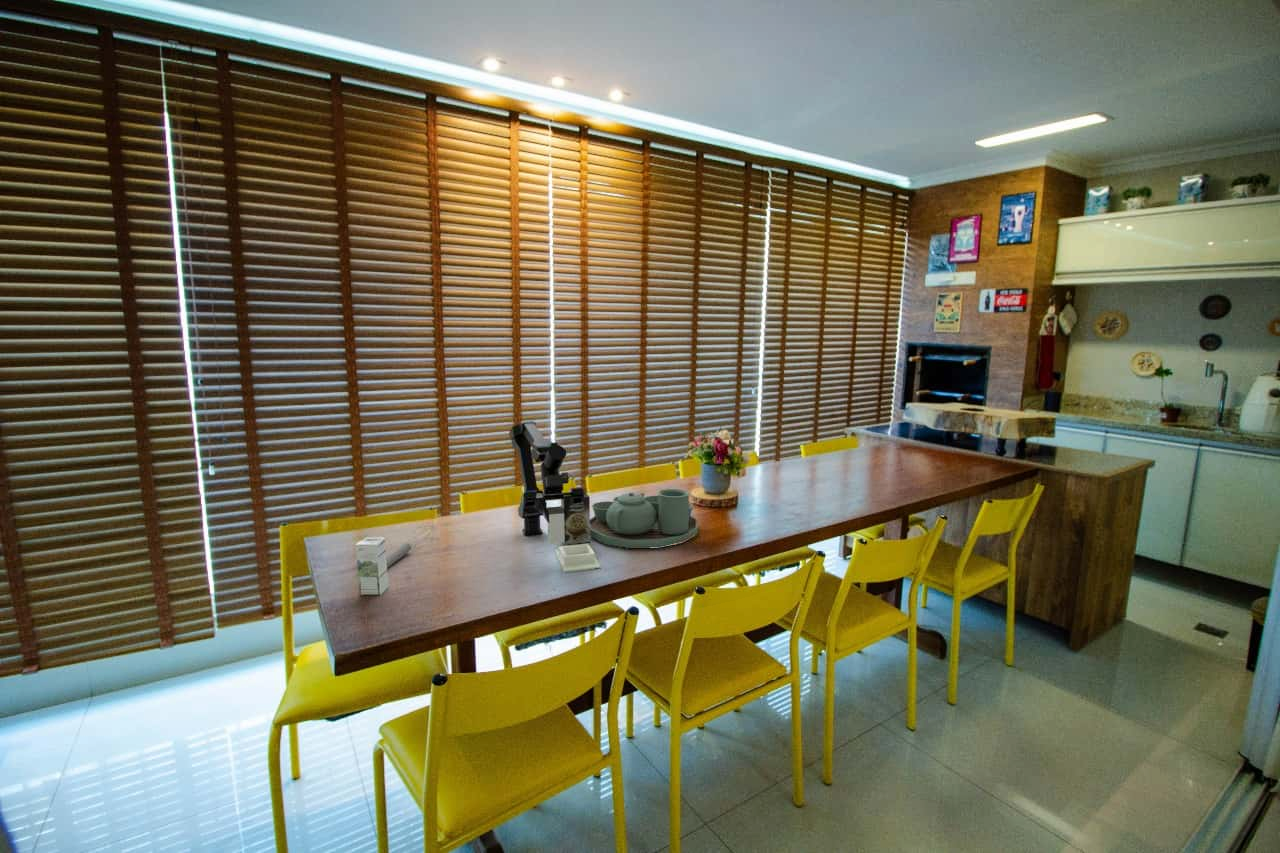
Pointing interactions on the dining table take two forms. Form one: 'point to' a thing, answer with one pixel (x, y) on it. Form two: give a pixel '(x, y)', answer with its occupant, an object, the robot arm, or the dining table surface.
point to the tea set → (644, 519)
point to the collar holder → (577, 558)
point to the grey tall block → (556, 524)
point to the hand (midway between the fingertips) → (556, 521)
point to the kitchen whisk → (404, 549)
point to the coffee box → (577, 522)
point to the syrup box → (372, 566)
